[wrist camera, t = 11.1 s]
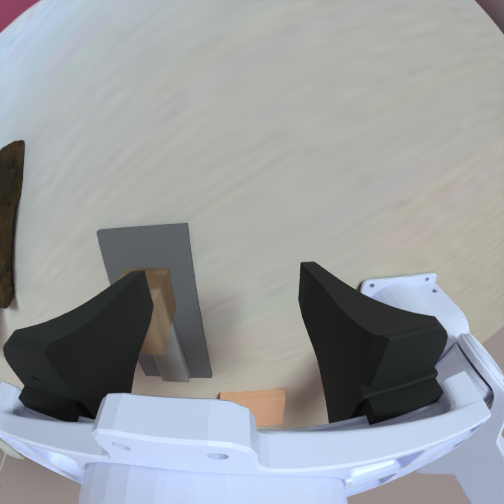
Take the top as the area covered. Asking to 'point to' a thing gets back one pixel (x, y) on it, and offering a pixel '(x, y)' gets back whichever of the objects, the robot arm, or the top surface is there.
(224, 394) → the tile
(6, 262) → the hand tool
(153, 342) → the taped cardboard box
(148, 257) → the tool mat
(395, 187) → the top surface
